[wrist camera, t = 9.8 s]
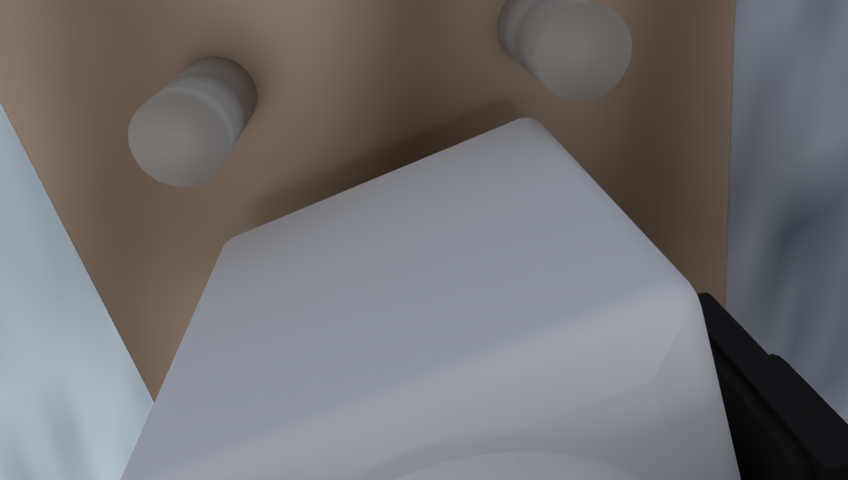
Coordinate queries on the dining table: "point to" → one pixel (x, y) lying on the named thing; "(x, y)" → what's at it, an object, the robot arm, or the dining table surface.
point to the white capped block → (445, 337)
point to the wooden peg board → (347, 120)
